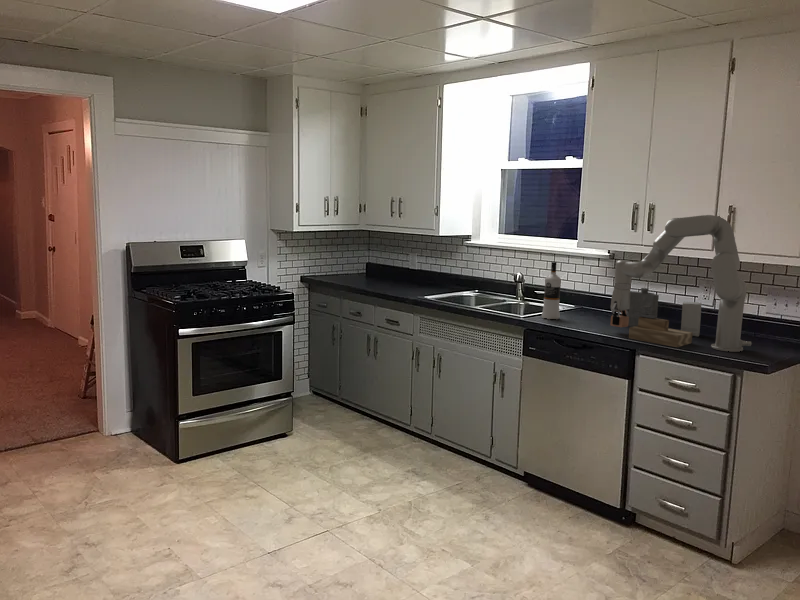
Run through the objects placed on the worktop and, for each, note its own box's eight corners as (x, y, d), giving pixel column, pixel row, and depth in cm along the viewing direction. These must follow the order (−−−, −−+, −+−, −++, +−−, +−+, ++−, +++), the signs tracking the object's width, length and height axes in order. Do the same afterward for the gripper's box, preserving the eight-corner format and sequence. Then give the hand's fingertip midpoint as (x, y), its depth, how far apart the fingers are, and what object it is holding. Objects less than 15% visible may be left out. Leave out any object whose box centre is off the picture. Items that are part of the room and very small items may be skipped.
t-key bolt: (638, 314, 320) (639, 304, 319) (658, 317, 312) (659, 307, 312) (631, 315, 316) (632, 305, 315) (651, 318, 308) (652, 308, 308)
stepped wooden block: (643, 334, 323) (645, 314, 321) (691, 343, 306) (693, 322, 304) (628, 338, 313) (630, 317, 312) (676, 347, 297) (678, 325, 295)
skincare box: (699, 334, 326) (702, 302, 324) (698, 337, 321) (701, 304, 318) (680, 332, 330) (683, 300, 328) (679, 335, 324) (682, 302, 322)
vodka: (563, 318, 359) (566, 262, 355) (551, 320, 354) (554, 262, 349) (549, 316, 367) (553, 260, 362) (538, 317, 361) (541, 261, 357)
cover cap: (616, 324, 328) (617, 314, 328) (628, 326, 324) (629, 316, 323) (610, 325, 324) (610, 316, 324) (621, 327, 320) (622, 318, 319)
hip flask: (624, 325, 345) (627, 286, 342) (629, 324, 348) (632, 285, 345) (653, 330, 333) (656, 290, 330) (658, 330, 335) (661, 289, 332)
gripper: (624, 284, 330) (621, 320, 333) (605, 286, 318) (602, 324, 321) (639, 286, 324) (635, 323, 327) (620, 288, 313) (616, 327, 316)
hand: (619, 323), depth 324 cm, fingers closed on cover cap, 6 cm apart
